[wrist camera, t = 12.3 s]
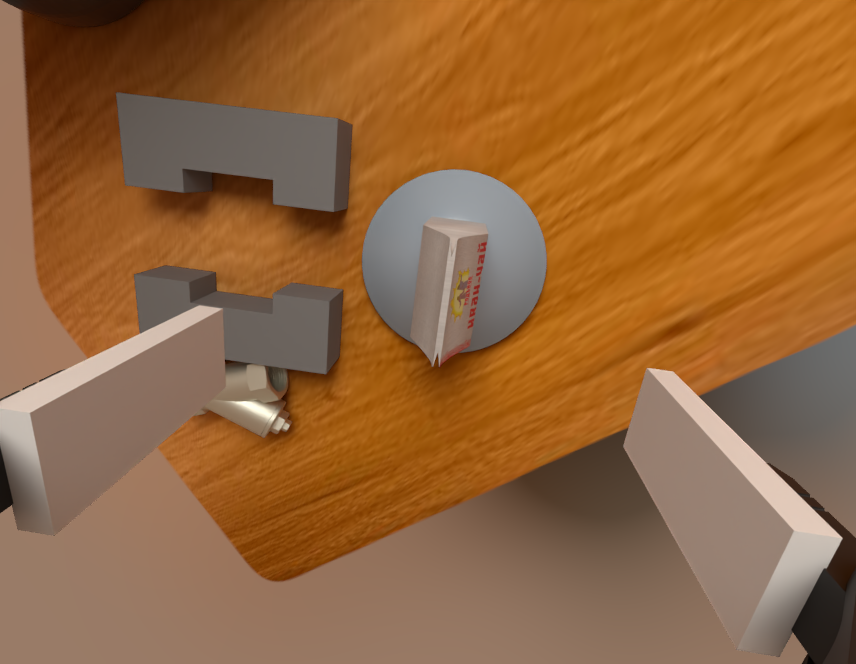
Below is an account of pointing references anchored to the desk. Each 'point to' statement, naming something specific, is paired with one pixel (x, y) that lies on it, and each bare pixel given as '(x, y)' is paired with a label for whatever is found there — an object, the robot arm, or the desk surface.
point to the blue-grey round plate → (503, 263)
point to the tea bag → (447, 286)
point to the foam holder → (292, 186)
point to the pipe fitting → (253, 398)
